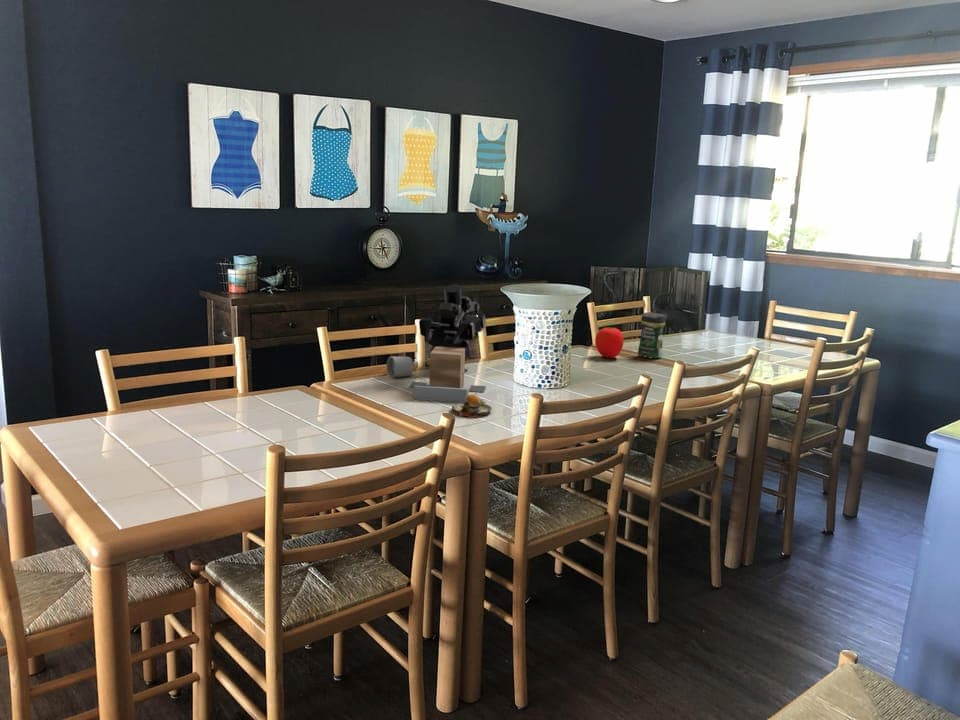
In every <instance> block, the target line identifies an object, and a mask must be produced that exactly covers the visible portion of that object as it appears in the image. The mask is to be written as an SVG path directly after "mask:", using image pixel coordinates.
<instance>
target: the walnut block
mask: <svg viewBox="0 0 960 720" xmlns="http://www.w3.org/2000/svg"><path fill="white" fill-rule="evenodd" d="M465 361H466V357H465V348H458V347H444V346H439V345H438V346H437V345H435V346H434V348H433V349H432V350H431V352H430V353H429V383H428V384H429V385H428V386H433V387H449V388H464V386H465V372H464V369H466V368H465V364H466V362H465Z"/></svg>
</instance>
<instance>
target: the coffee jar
mask: <svg viewBox="0 0 960 720" xmlns="http://www.w3.org/2000/svg"><path fill="white" fill-rule="evenodd" d="M640 319H641V320H640V324H641V333H640V338H639V344H638V350H637V355H638V356H639V355H641V356H646V357H652V358H655V359H656V358H659V359H661V358H663V338H664V337H663V336H664V335H663V334H664V328H665V326H666V316H665V314H662V313H656V312H650V311H647V312H643V313H642V315H641V318H640ZM641 356H640V357H641Z"/></svg>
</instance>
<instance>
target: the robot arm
mask: <svg viewBox="0 0 960 720" xmlns="http://www.w3.org/2000/svg"><path fill="white" fill-rule="evenodd" d="M461 290H462V288H461V286H460V285H459V284H458V283H452V284H449V285H447V286H445V287H444V290H443V291H444V300H445V302H441V303H440V306H439V309H438V313H439V316H438V322H434V321H433V318H431V317H421V318H420V319H419V323H418V324H419V331H420V333H419V335H421V336H423V337H424V338H425V340H426V343H427V342H429V341H430V340H431V339H432V336H433V334H434V331H435V330H436V331H437V330H438V331H441V334H443V335H444V334H446V337H445V338H444V339H443V347H458V348H465V358H466V357H471V347H470V343H469V340H470V341H472V340H473V339H474V337H475V333H481V332H483V331H484V329H485V328H486V326H487V325H486V324H487V321H486V315H485V312H483V310H482V309H481V307H480V303H479V302H477V301H472V300H471V299H470V298H469V296H462V291H461ZM468 313H475V314H476V315H469V314H468ZM467 314H468V315H467ZM477 316H478V317H477ZM468 369H469V368H465V369H464V373H465V372H467V371H468Z"/></svg>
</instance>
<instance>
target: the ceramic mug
mask: <svg viewBox="0 0 960 720" xmlns="http://www.w3.org/2000/svg"><path fill="white" fill-rule="evenodd" d="M385 365H386V373H387V375H388V377H389V378H391V379H394V378H404V377H410V376H412V375H413V374H414V371H415V363H414V360H413V359H412V357H410V356H389V357H388V359H387V361H386V364H385Z"/></svg>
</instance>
